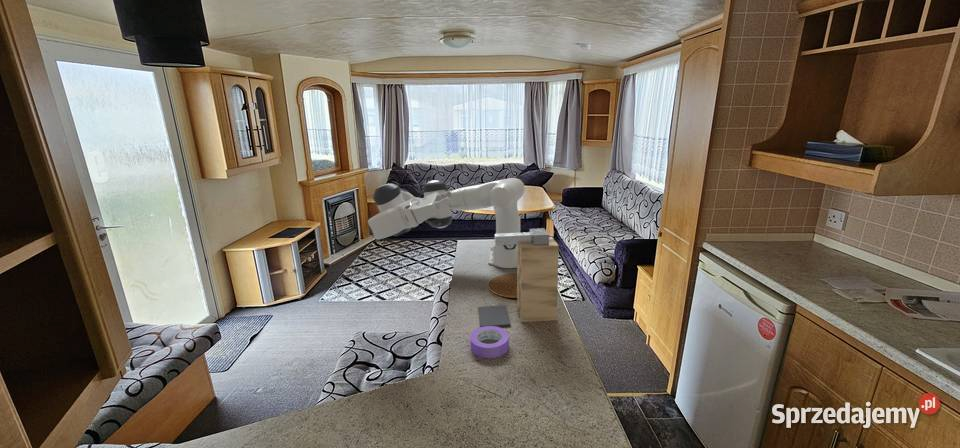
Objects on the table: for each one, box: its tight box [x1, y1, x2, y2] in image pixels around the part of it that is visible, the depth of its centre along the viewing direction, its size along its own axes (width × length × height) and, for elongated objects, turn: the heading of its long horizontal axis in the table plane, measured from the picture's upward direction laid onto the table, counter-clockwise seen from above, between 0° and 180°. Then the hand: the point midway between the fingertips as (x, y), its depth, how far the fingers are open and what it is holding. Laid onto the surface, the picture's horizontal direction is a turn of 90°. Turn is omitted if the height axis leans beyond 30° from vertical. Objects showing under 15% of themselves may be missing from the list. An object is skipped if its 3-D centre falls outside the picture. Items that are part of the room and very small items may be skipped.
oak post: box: [516, 236, 560, 323], centre depth 133 cm, size 9×12×27 cm
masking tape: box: [469, 326, 510, 359], centre depth 119 cm, size 12×12×4 cm
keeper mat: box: [477, 304, 511, 328], centre depth 136 cm, size 13×10×1 cm
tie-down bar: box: [494, 227, 550, 246], centre depth 128 cm, size 7×17×4 cm, turn 94°
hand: (450, 196), depth 130 cm, fingers open, 8 cm apart
